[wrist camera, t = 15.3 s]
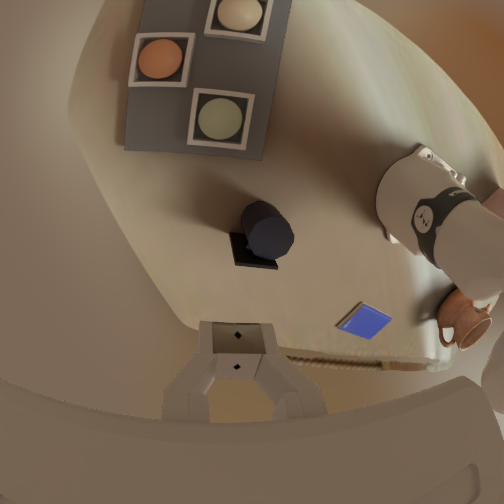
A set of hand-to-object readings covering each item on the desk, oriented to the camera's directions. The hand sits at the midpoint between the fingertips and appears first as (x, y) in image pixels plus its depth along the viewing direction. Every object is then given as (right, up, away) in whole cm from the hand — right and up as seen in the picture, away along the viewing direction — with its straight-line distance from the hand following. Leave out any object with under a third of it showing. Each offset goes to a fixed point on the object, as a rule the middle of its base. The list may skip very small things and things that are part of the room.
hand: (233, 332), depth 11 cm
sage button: (-3, +20, +19) cm, 27 cm away
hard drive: (+27, -12, +48) cm, 56 cm away
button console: (-5, +27, +17) cm, 32 cm away
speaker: (+1, +9, +30) cm, 31 cm away
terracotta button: (-10, +26, +14) cm, 31 cm away
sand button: (-1, +31, +12) cm, 33 cm away
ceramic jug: (+57, -11, +50) cm, 77 cm away
